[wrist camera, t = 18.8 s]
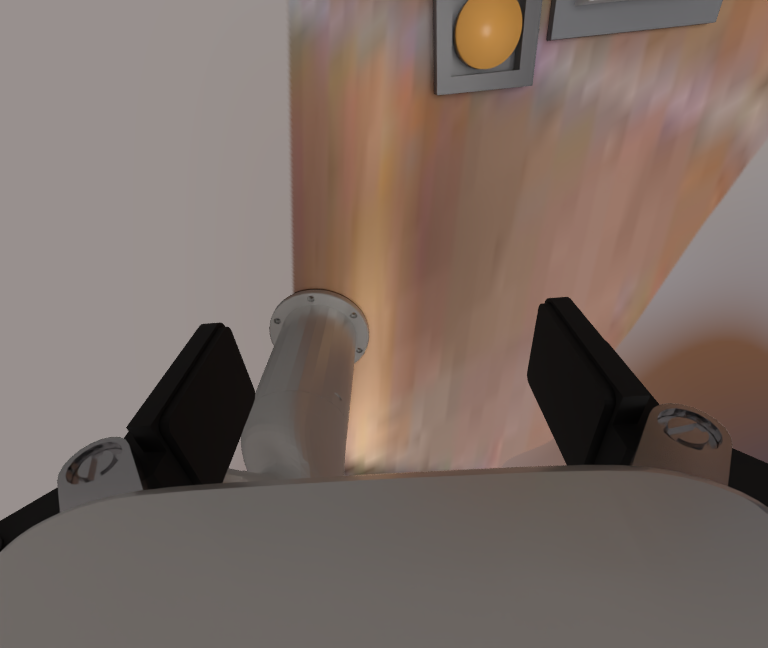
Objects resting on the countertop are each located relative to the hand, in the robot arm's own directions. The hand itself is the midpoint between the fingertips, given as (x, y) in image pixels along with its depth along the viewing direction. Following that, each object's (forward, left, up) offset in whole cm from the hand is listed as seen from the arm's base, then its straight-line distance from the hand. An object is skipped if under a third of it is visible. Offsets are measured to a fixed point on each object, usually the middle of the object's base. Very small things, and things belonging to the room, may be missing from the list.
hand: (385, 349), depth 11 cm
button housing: (+9, -9, -30) cm, 33 cm away
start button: (+9, -9, -30) cm, 32 cm away
